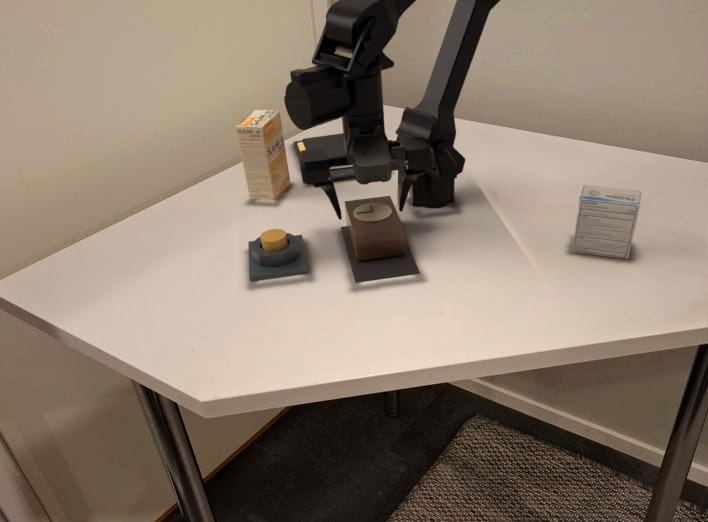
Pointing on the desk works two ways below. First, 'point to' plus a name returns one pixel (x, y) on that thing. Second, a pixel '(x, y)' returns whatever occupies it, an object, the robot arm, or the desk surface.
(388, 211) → the alarm clock
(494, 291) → the desk surface
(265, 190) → the supplement box
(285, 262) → the switch block
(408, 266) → the dark grey flat slab
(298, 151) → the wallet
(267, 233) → the button
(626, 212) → the medicine box
